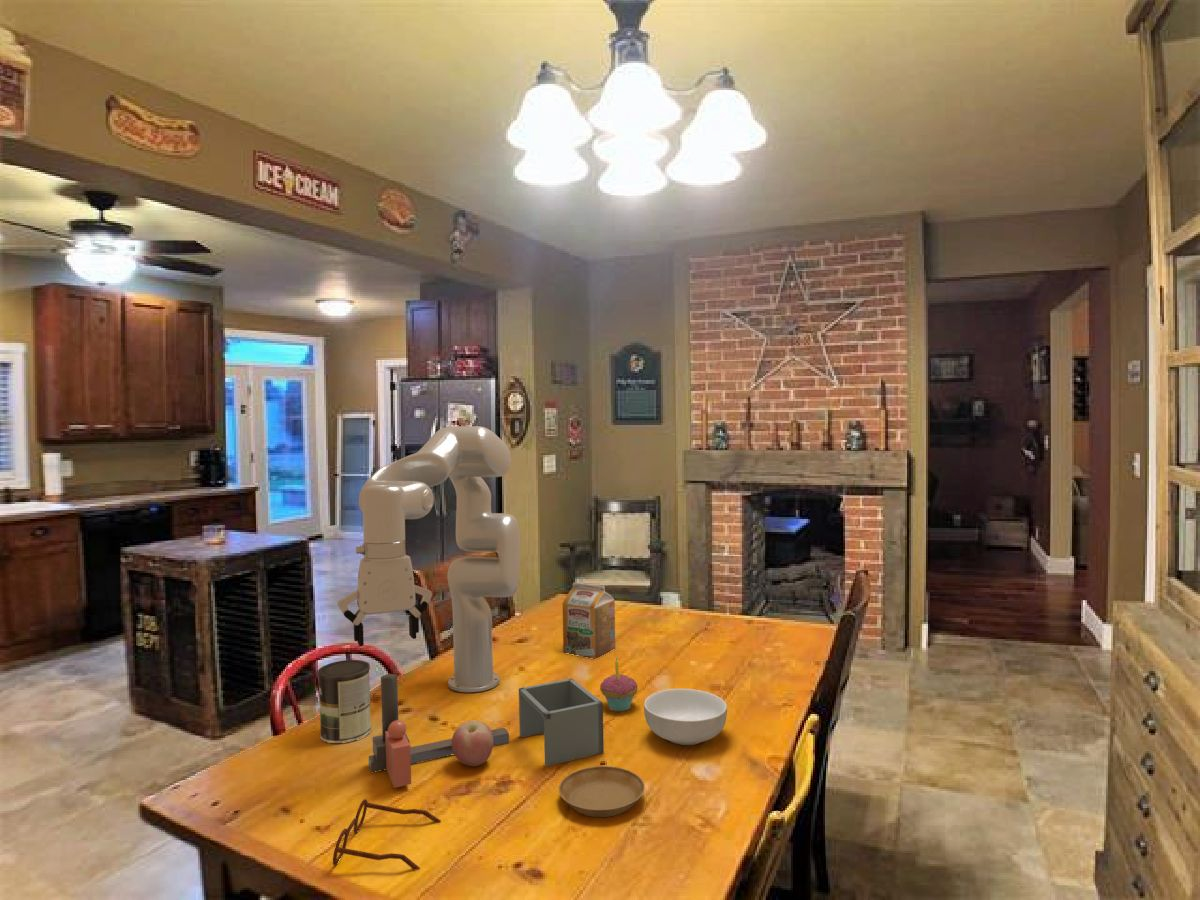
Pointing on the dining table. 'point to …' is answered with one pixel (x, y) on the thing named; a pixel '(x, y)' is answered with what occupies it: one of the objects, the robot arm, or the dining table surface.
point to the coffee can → (344, 701)
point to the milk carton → (588, 621)
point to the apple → (472, 743)
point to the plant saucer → (601, 790)
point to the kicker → (393, 736)
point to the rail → (437, 750)
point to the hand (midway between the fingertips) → (387, 640)
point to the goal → (562, 720)
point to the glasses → (355, 823)
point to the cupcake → (619, 690)
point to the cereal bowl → (685, 715)
